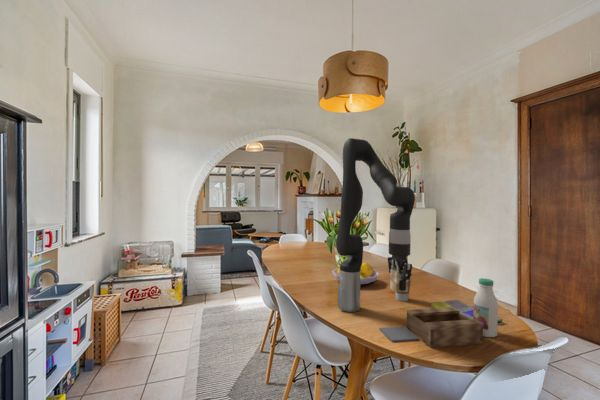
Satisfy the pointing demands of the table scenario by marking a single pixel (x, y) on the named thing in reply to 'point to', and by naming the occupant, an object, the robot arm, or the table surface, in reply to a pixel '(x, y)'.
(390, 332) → the slate pad
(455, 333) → the walnut box
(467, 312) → the dish towel
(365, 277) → the fruit bowl
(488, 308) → the milk bottle
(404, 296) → the coffee cup
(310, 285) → the table surface
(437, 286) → the table surface
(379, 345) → the table surface
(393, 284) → the maple block
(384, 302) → the table surface
